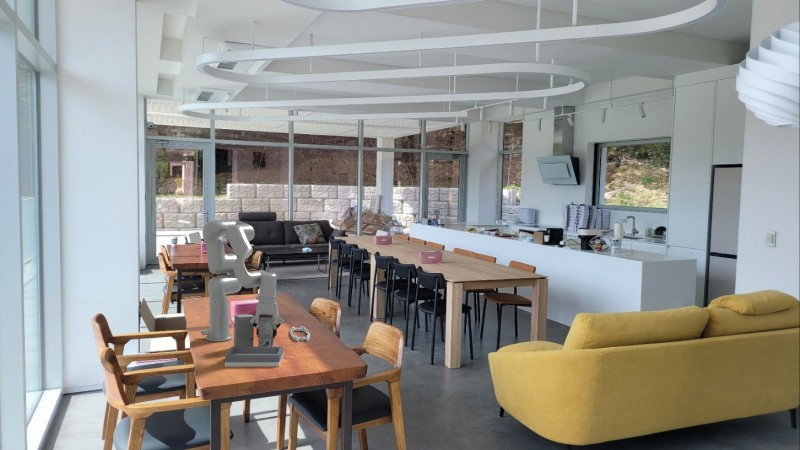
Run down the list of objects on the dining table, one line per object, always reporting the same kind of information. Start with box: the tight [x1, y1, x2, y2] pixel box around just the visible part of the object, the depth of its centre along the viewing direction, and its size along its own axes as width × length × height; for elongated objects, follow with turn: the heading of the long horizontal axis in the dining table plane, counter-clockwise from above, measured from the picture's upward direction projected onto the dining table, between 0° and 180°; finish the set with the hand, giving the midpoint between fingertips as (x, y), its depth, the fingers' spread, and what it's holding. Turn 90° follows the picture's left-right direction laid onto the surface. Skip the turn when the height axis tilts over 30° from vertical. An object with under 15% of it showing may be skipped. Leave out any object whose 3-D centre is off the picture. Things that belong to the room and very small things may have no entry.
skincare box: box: [233, 313, 255, 346], centre depth 269 cm, size 8×7×16 cm
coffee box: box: [257, 315, 275, 346], centre depth 264 cm, size 9×6×16 cm
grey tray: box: [224, 345, 284, 368], centre depth 250 cm, size 23×16×4 cm
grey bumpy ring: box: [289, 325, 311, 343], centre depth 294 cm, size 3×10×25 cm
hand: (266, 336), depth 265 cm, fingers closed on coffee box, 6 cm apart
